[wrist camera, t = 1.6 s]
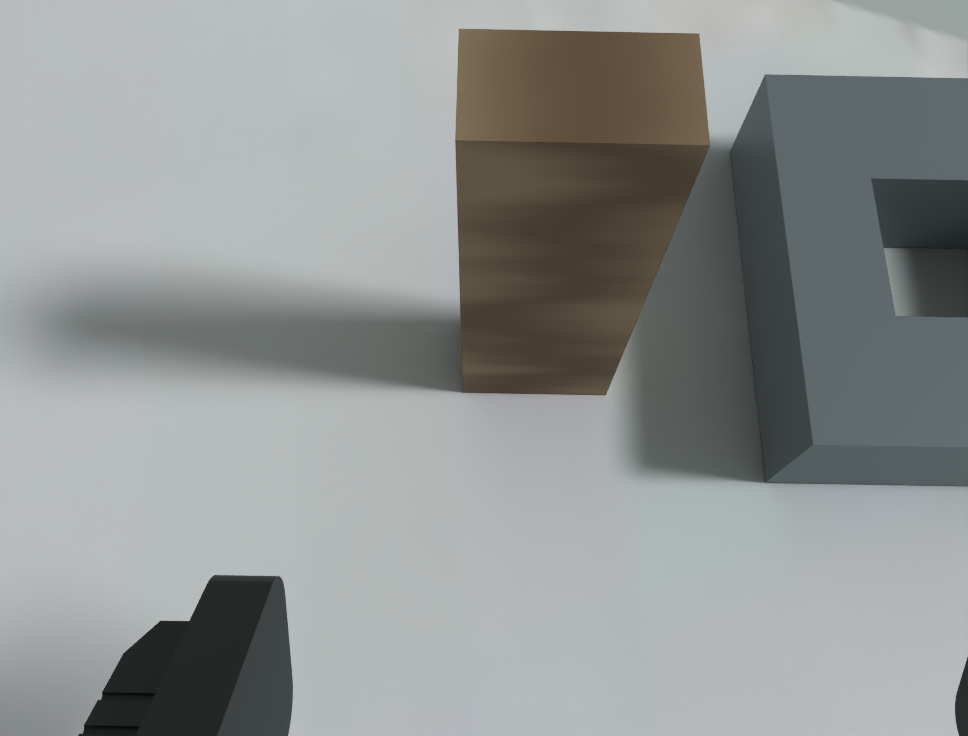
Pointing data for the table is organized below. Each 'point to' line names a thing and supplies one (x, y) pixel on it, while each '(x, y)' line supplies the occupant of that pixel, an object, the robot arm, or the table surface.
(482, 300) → the slat
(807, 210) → the grey square socket block
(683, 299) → the table surface
